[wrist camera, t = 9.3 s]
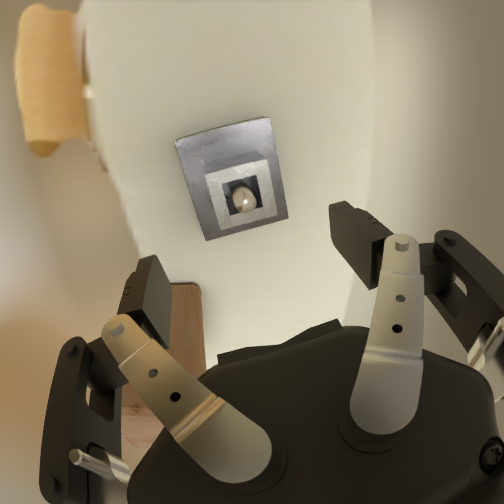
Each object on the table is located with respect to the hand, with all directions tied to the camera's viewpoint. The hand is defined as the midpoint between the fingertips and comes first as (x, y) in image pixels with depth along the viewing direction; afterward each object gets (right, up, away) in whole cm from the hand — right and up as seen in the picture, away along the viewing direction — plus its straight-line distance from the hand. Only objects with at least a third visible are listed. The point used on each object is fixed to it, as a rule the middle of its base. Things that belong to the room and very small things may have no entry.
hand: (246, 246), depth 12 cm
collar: (-1, +7, +17) cm, 18 cm away
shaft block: (-2, +8, +18) cm, 20 cm away
